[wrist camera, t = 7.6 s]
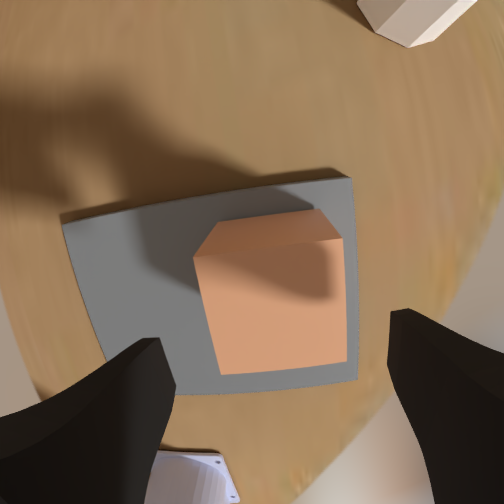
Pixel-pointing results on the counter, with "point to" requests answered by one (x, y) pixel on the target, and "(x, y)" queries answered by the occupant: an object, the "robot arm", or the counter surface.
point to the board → (186, 282)
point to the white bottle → (412, 18)
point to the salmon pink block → (274, 292)
